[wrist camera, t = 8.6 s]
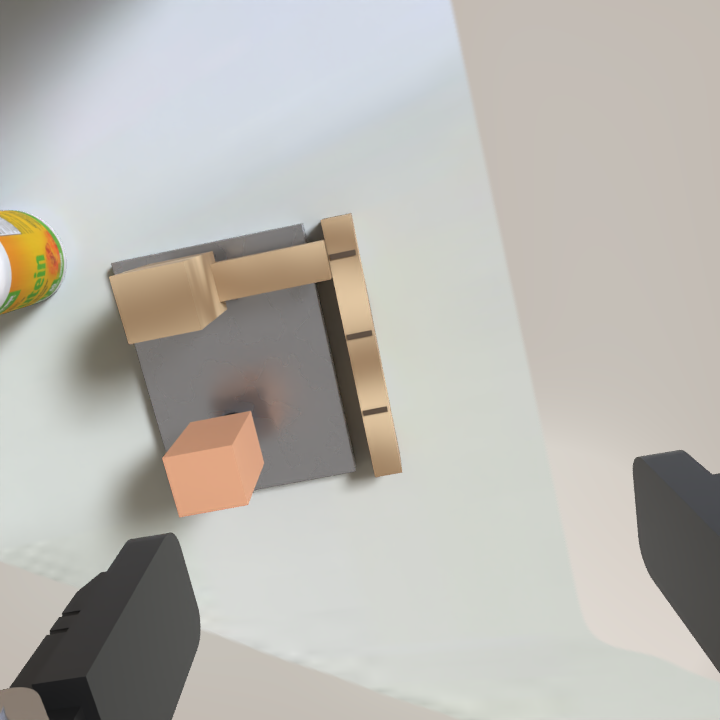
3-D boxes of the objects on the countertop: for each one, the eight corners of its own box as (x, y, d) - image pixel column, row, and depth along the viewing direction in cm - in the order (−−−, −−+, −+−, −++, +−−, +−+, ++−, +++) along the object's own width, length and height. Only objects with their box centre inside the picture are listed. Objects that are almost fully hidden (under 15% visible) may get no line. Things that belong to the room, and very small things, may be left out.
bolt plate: (117, 261, 38) (110, 263, 37) (302, 223, 38) (300, 223, 37) (185, 496, 42) (180, 503, 41) (355, 464, 41) (355, 471, 40)
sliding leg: (198, 411, 39) (162, 458, 32) (256, 400, 39) (232, 444, 32) (212, 461, 40) (179, 517, 33) (268, 451, 39) (248, 504, 33)
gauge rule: (163, 252, 38) (106, 267, 30) (351, 213, 37) (345, 218, 29) (227, 488, 42) (192, 560, 33) (400, 456, 41) (407, 522, 33)
